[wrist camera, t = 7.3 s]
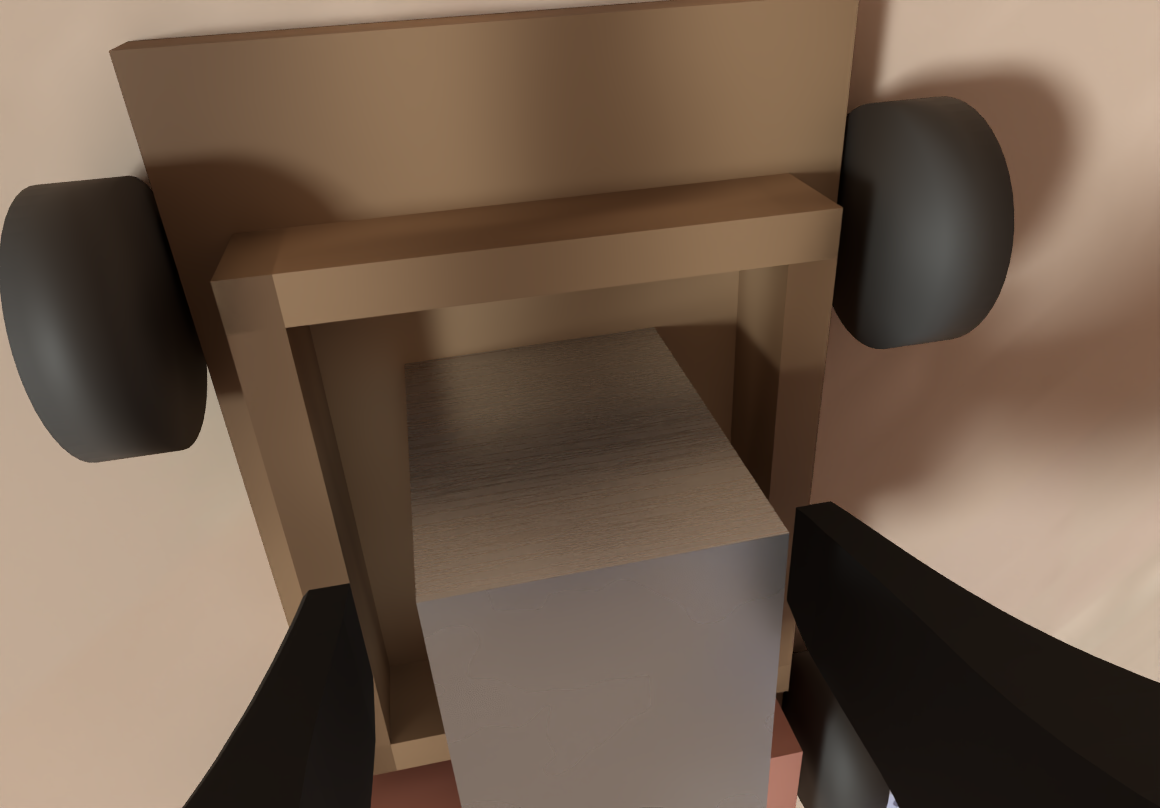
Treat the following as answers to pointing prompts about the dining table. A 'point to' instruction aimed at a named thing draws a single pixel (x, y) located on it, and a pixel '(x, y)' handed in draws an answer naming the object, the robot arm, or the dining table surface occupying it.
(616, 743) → the grey block
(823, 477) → the dining table surface
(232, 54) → the chassis
